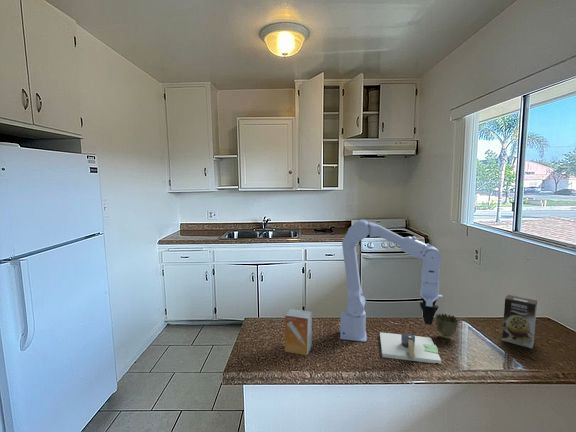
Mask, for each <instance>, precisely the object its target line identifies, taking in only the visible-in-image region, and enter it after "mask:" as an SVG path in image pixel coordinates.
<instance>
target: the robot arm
mask: <svg viewBox="0 0 576 432" xmlns="http://www.w3.org/2000/svg"><path fill="white" fill-rule="evenodd" d="M368 236H369V238H375V237H379V238H381V239H384V240H386V241H387V242H391V243H393V244H396V245H397V246H399V247H400V250H401V251H402V252H404V253H405V254H408V255H410V256H412V257H414V258H415V259H419V260H422V267H421V277H420V292H419V296H420V298H421V300H422V302H421V301H420V302H419V306H420V309H421V311H422V314H423V322H424V324H425V325H430V326H431V325H432V324H433V321H434V317H435V316H436V315H435V314H436V312H437V311H438V309H439V305H436V303H437V301H438V300H439V299H443V295H442V294H439V292H440V275H441V269H440V268H441V263H442V261H443V258H442V254H441V252H440V251H439V249H438V248H436V247H435V246H433V245H431V244H430V243H425V242H423V241H420V240H418V239H417V237H416V236H414V235H412V236H410V235H409V236H405V237H403V236H402V235H399V234H397V233H396V232H393V231H392V230H390V229H389V228H385V227H384V226H382V225H380V224H377V223H375V222H372V221H368V220H367V219H364V218H363V219H358V220H357V221H355V222H354V223H353V224H352V225H351V226H350V227H349V228H348V230H347V232H346V233H345V236H344V238H343V240H342V242H341V244H342V245H341V246H342V253H343V254H342V255H343V262H344V269H345V278H346V285H347V297H346V298H347V303H346V305H345V310H346V311H341V313H340V325H339V333H340V334H339V335H340V336H339V338H340V340H346V341H347V340H348V341H356V342H362V343H363V342H364V343H365V342H367V331H366V325H367V324H366V323H367V322H366V321H367V318H366V317H367V315H366V314H367V312H366V311H365V306H366V304H367V300H366V296H365V295H364V293H363V289H362V285H361V278H360V271H359V264H358V263H359V262H358V254H357V247H356V246H357V245H358V243H360V242H361V241H362V240H364V239H365V238H367V237H368Z"/></svg>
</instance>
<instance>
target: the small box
mask: <svg viewBox="0 0 576 432" xmlns="http://www.w3.org/2000/svg"><path fill="white" fill-rule="evenodd" d="M284 318H285V319H284V352H285V353H292V354H296V355H297V354H298V355H303V356H308V355H309V353H310V350H311V348H312V344H313V342H312V340H313V339H312V337H313V336H312V334H313V333H312V332H313V331H312V330H313V328H312V327H313V311H308V310H303V309H302V310H301V309H293V308H290V309H289V310H288V311H287V312H286V314H285V317H284Z"/></svg>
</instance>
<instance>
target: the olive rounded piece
mask: <svg viewBox="0 0 576 432" xmlns="http://www.w3.org/2000/svg"><path fill="white" fill-rule="evenodd" d="M435 314H436V315H435V323H436V329H437V331H438V332H439V333H440V335H439V336H440V337H441V338H442V339H444V340H450V339H452V336H453V335H454V334H455V333H456V331H457V327H458V321H459V319H457V317H456V316H455V315H450V314H447V313H445V314H444V313H442V314H441V313H439V314H437V313H435Z"/></svg>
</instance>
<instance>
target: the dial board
mask: <svg viewBox="0 0 576 432" xmlns="http://www.w3.org/2000/svg"><path fill="white" fill-rule="evenodd" d="M401 335H402V333H401V334H398V333H391V332H389V333H388V332H380V331H379V339H380V347H381V348H380V349H381V356H382V358H387V359H396V360H404V361H413V362H419V363H428V364H435V363H438V364H437V365H442V359H441V357H440V355H439V348H438V347H437V345H436V344H434V342H433V340H432V337H427V336H419V335H414V336H415V346H414V358H410V356H409V353H408V348H407V347H405V346H403V345H402V344H401Z"/></svg>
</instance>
